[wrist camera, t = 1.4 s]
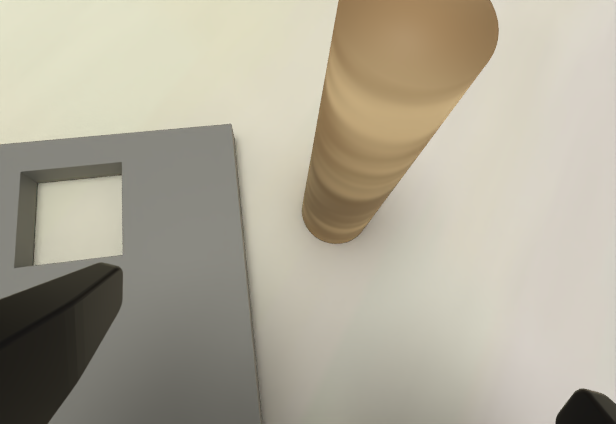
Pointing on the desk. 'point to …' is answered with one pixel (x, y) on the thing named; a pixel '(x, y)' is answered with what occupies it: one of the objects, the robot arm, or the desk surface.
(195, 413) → the hole plate
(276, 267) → the desk surface
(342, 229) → the tall dowel
